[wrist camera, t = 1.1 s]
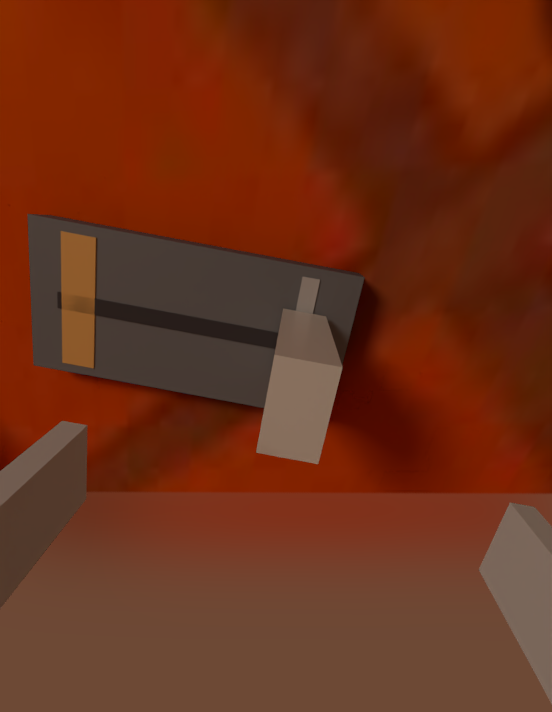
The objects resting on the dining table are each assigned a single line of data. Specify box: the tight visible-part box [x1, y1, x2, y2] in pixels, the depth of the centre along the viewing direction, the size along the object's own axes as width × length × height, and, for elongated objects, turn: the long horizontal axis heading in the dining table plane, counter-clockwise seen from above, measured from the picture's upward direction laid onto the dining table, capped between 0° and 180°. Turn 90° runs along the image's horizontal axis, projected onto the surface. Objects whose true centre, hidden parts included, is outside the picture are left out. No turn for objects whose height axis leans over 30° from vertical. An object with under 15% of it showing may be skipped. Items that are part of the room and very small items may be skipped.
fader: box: [256, 308, 343, 464], centre depth 22 cm, size 3×5×10 cm, turn 170°
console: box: [28, 214, 364, 408], centre depth 28 cm, size 23×11×3 cm, turn 80°
